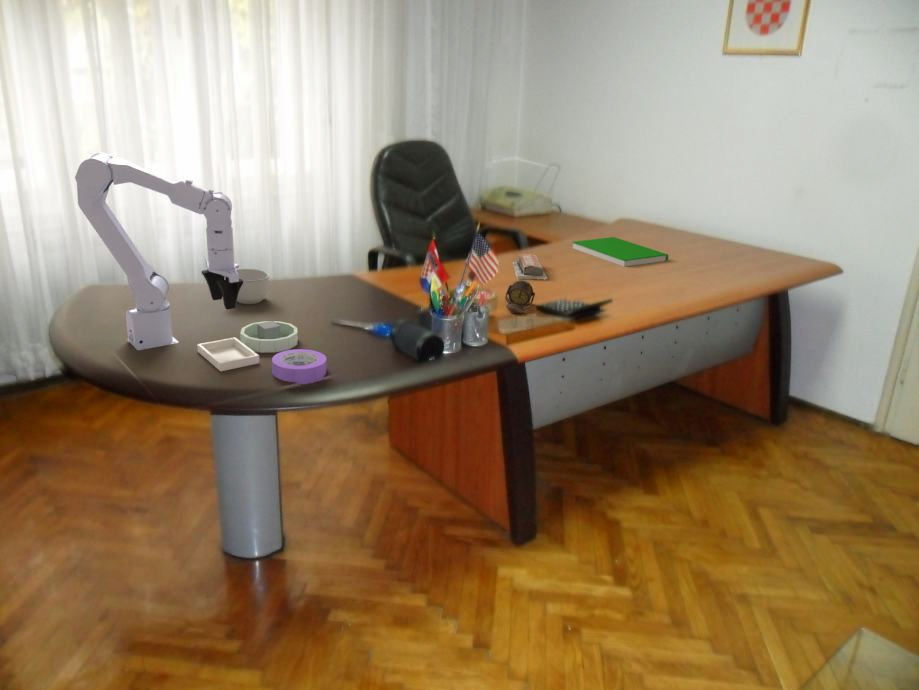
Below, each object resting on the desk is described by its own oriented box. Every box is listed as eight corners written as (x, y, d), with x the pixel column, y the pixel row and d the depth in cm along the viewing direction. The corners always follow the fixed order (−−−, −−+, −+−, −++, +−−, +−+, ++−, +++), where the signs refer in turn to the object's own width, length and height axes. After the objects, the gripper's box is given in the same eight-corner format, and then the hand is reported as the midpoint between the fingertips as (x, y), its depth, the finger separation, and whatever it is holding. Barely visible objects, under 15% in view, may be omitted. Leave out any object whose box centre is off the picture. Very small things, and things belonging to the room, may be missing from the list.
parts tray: (220, 373, 164) (219, 363, 163) (198, 354, 173) (197, 344, 173) (259, 365, 169) (259, 355, 169) (235, 346, 179) (235, 337, 178)
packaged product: (513, 251, 261) (541, 253, 261) (511, 265, 263) (540, 267, 263) (518, 265, 244) (549, 267, 245) (517, 280, 246) (547, 281, 246)
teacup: (254, 292, 217) (253, 265, 214) (278, 301, 211) (277, 273, 208) (211, 302, 207) (210, 274, 204) (235, 312, 201) (234, 283, 198)
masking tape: (288, 360, 173) (288, 345, 172) (335, 369, 171) (335, 353, 169) (262, 380, 163) (261, 363, 162) (311, 389, 160) (311, 372, 159)
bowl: (256, 358, 173) (255, 344, 172) (232, 340, 182) (232, 327, 181) (307, 347, 181) (307, 334, 179) (282, 331, 190) (282, 318, 189)
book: (623, 268, 268) (625, 260, 267) (571, 249, 290) (572, 241, 289) (667, 262, 280) (668, 254, 279) (613, 244, 302) (614, 236, 300)
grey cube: (265, 346, 179) (264, 328, 177) (257, 340, 181) (257, 323, 180) (280, 343, 181) (280, 325, 179) (273, 337, 184) (272, 320, 182)
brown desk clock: (547, 288, 219) (519, 274, 224) (526, 294, 209) (497, 279, 213) (539, 310, 222) (511, 296, 226) (518, 317, 212) (489, 302, 216)
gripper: (250, 253, 170) (252, 310, 175) (224, 238, 181) (227, 293, 186) (220, 256, 166) (223, 314, 171) (195, 241, 177) (199, 297, 182)
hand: (223, 303), depth 178 cm, fingers open, 7 cm apart
